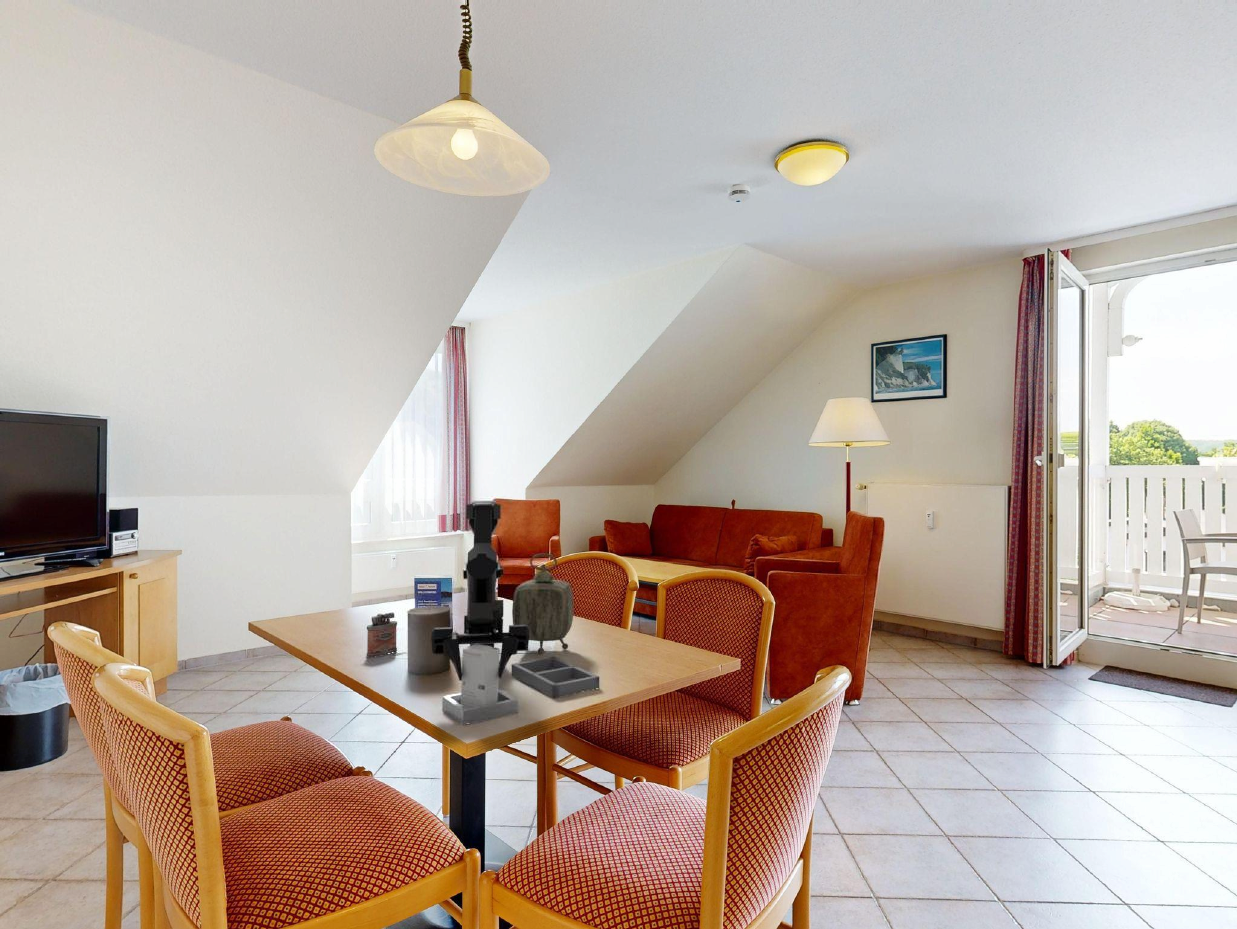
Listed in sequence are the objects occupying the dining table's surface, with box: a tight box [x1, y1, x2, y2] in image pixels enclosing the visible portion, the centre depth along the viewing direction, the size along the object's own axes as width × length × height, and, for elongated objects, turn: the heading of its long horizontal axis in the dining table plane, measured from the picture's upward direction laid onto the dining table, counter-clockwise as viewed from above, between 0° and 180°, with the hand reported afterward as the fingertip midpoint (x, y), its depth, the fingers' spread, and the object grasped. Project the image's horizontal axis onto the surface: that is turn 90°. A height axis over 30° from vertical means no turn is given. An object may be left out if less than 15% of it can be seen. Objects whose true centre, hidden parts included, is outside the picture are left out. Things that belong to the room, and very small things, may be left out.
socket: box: [441, 687, 519, 726], centre depth 130 cm, size 10×11×2 cm
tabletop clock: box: [511, 553, 575, 655], centre depth 173 cm, size 14×9×25 cm, turn 84°
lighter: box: [366, 612, 398, 658], centre depth 171 cm, size 8×3×10 cm, turn 143°
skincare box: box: [460, 644, 501, 709], centre depth 130 cm, size 6×4×12 cm
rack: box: [511, 656, 600, 699], centre depth 149 cm, size 19×11×2 cm, turn 36°
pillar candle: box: [407, 604, 451, 675], centre depth 158 cm, size 10×10×15 cm
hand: (480, 678), depth 129 cm, fingers closed on skincare box, 7 cm apart
